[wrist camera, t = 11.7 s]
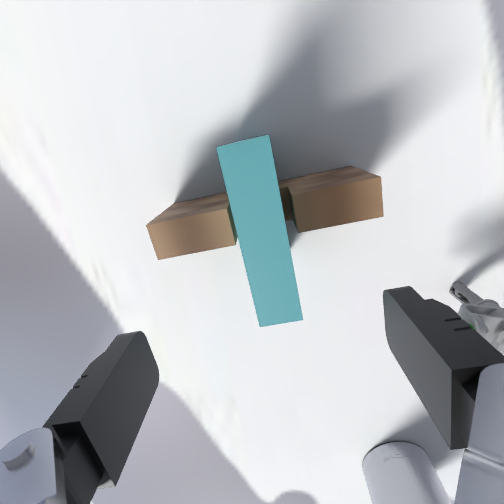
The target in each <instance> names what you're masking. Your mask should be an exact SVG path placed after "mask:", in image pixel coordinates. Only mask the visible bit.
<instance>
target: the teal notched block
mask: <svg viewBox="0 0 504 504" xmlns="http://www.w3.org/2000/svg"><path fill="white" fill-rule="evenodd" d="M216 149H217V153H218V157H219V161H220V165H221V170H222V174H223V178H224V182H225V186H226V190H227V194H228V198H229V202H230V206H231V211H232V215H233V219H234V223H235V227H236V231H237V235H238V239H239V243H240V248H241V252H242V256H243V260H244V264H245V268H246V272H247V276H248V280H249V285H250V289H251V293H252V297H253V301H254V305H255V309H256V313H257V317H258V321H259V326H260V327H263V326H269V325H275V324H281V323H287V322H293V321H300V320H303V316H302V311H301V306H300V300H299V295H298V289H297V284H296V278H295V273H294V267H293V262H292V257H291V251H290V246H289V240H288V235H287V229H286V224H285V219H284V213H283V208H282V202H281V197H280V191H279V186H278V180H277V175H276V170H275V164H274V159H273V153H272V148H271V142H270V137H269V135H263V136H259V137H254V138H250V139H246V140H241V141H237V142H233V143H230V144H226V145H223V146H219V147H216Z"/></svg>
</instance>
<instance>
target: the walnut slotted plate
mask: <svg viewBox="0 0 504 504" xmlns="http://www.w3.org/2000/svg"><path fill="white" fill-rule="evenodd" d="M278 186H279V191H280V197H281V202H282V208H283V213H284V219H285V221H289V220H294V223H295V226H296V228H297V231H298V233H300V232H306V231H311V230H316V229H321V228H326V227H331V226H337V225H342V224H347V223H352V222H357V221H363V220H368V219H373V218H378V217H383V201H382V186H381V177H380V176H377V175H374V174H372V173H369V172H366V171H363V170H360V169H358V168H355V167H352V166H349V167H344V168H340V169H335V170H330V171H326V172H321V173H316V174H311V175H307V176H302V177H297V178H292V179H288V180H283V181H278ZM146 226H147V229H148V232H149V235H150V238H151V241H152V244H153V247H154V250H155V252H156V255H157V258H158V260H160V259H166V258H171V257H176V256H181V255H186V254H192V253H197V252H202V251H207V250H212V249H217V248H223V247H228V246H233V245H236V241H237V237H238V235H237V231H236V227H235V223H234V219H233V215H232V211H231V206H230V202H229V198H228V194H227V192H226V193H222V194H217V195H212V196H207V197H203V198H198V199H193V200H188V201H184V202H179V203H174V204H172V205H171V206H170V207H169V208H167V209H166V210H165V211H163V212H162V213H161V214H160V215H158V216H157V217H156V218H155V219H153V220H152V221H151V222H149V223H148V224H147V225H146Z"/></svg>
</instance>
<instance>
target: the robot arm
mask: <svg viewBox="0 0 504 504" xmlns="http://www.w3.org/2000/svg"><path fill="white" fill-rule="evenodd" d="M383 304H384V317H385V330H386V337H387V341H388V344H389V347H390V349H391V351H392V353H393V355H394V356H395V358H396V360H397V361H398V363H399V365H400V366H401V368H402V370H403V371H404V373H405V375H406V376H407V378H408V380H409V381H410V383H411V385H412V386H413V388H414V390H415V391H416V393H417V395H418V396H419V398H420V400H421V401H422V403H423V405H424V406H425V408H426V410H427V411H428V413H429V415H430V416H431V418H432V420H433V421H434V423H435V425H436V426H437V428H438V430H439V431H440V433H441V435H442V436H443V438H444V440H445V441H446V443H447V445H448V446H449V448H450V450H453V449H462V448H467V449H465V450H464V454H463V458H462V463H461V469H460V475H459V480H458V486H457V492H456V497H455V503H454V504H504V356H503V355H502V354H501V353H500V352H499V351H498V350H497V349H496V348H494V347H493V346H492V345H491V344H490V343H489V342H488V341H487V340H486V339H485V338H483V337H482V336H481V335H480V334H479V333H478V332H477V331H476V330H475V329H472V328H471V326H470V325H469V324H468V323H467V322H466V321H465V320H464V319H463V320H462V319H461V317H460V316H459V315H458V314H457V313H456V312H455V311H454V310H453V309H452V308H450V307H449V306H447V305H445V304H443V303H441V302H438V301H436V300H434V299H427V300H424V299H423V298H422V297H421V296H420V295H419V294H418V293H417V292H416V291H415V290H414V289H413V288H412V287H410V286H406V287H400V288H394V289H388V290H384V292H383ZM158 383H159V370H158V366H157V364H156V361H155V359H154V356H153V353H152V351H151V348H150V346H149V343H148V341H147V338H146V336H145V334H144V333H143V332H142V331H137V332H131V333H125V334H120V335H117V336H116V337H115V339H114V340H113V342H112V343H111V344H110V346H109V347H108V348H107V350H106V351H105V352H104V353H102V354H101V355H100V356H99V357H98V358H96V359H95V360H94V361H93V362H92V363H90V365H89V366H88V368H87V369H86V370H85V371H84V373H83V374H82V375H81V378H80V379H78V381H77V382H76V383H75V385H74V386H73V389H71V390H70V391H69V392H68V394H67V395H66V396H65V398H64V399H63V400H62V402H61V403H60V404H59V406H58V407H57V408H56V410H55V411H54V412H53V414H52V415H51V416H50V418H49V419H48V420H47V422H46V423H45V424H44V425H43V427H42V428H37V429H33V430H30V431H28V432H26V433H24V434H22V435H20V436H18V437H16V438H15V439H13V440H12V441H10V442H9V443H8V444H7V445H6V446H4V447H3V448H2V449H1V450H0V504H94V502H93V501H92V498H93V496H94V494H95V492H96V489H101V488H110V487H115V486H116V484H117V482H118V479H119V477H120V475H121V472H122V470H123V467H124V465H125V463H126V460H127V458H128V456H129V453H130V451H131V448H132V446H133V443H134V441H135V439H136V437H137V434H138V432H139V429H140V427H141V425H142V422H143V420H144V417H145V415H146V413H147V410H148V408H149V406H150V403H151V401H152V398H153V396H154V394H155V391H156V389H157V386H158ZM362 468H363V473H364V476H365V480H366V483H367V486H368V490H369V493H370V496H371V500H372V503H373V504H452V503H451V501H450V499H449V497H448V495H447V493H446V491H445V489H444V487H443V485H442V483H441V481H440V479H439V477H438V475H437V473H436V471H435V469H434V468H433V466H432V464H431V462H430V460H429V458H428V456H427V454H426V453H425V451H424V450H423V449H421V448H420V447H419V446H417V445H415V444H411V443H408V442H391V443H386V444H383V445H380V446H378V447H376V448H375V449H373V450H372V451H371V452H369V453H368V454H367V456H366V457H365V459H364V461H363V465H362Z"/></svg>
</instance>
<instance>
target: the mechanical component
mask: <svg viewBox="0 0 504 504" xmlns="http://www.w3.org/2000/svg"><path fill="white" fill-rule="evenodd" d="M453 288H455V291H453V290H451V291H450V292H449V293H450V294H451V295H453V296H454V297H455V298H456V299H457V300H459V301H460V302H461V303H462V305H461V307H460V310H459V312H458V315H459V316H460V317H461V319H462V320H463V319H464V320H465V321H466V322H467V323H468V324H469V325H470V326H471V328H472V329H475V330H476V331H477V332H478V333H479V334H480V335H481V336H482V337H483V338H485V339H486V340H487V341H488V342H489V343H490V344H491V345H492V346H493V347H494V348H496V349H497V350H498V351H504V308H501V307H500V306H499V305H498V303H497V302H495V301H493V300H489V299H486V300H483V299H482V298H480V297H479V296H478V295H476V294H475V293H474V292H472V291H471V290H470V289H468V288H467V287H466V286H464V285H463V284H462V283H459V282H456V283H453Z"/></svg>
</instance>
